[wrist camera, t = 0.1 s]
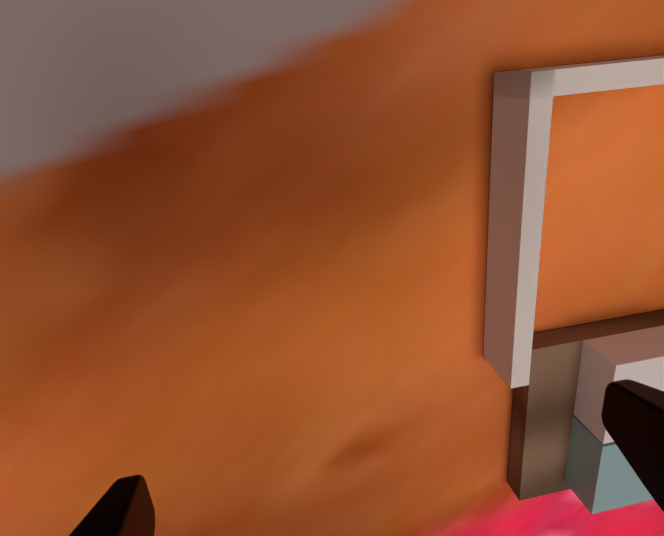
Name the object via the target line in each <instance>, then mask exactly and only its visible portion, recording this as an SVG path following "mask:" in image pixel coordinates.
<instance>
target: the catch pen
mask: <svg viewBox="0 0 664 536" xmlns="http://www.w3.org/2000/svg"><path fill="white" fill-rule="evenodd" d="M659 84H664V55H660V56H650V57H640V58H630V59H621V60H611V61H601V62H591V63H582V64H572V65H562V66H552V67H542V68H533V69H523V70H513V71H503V72H494V92H493V118H492V144H491V170H490V196H489V222H488V248H487V274H486V300H485V327H484V353H483V357H484V358H485V360H486V361H487V362H488V363H489V364H490V365H491V367H492V368H493V369H494V370H495V371H496V372H497V373H498V375H499V376H500V377H501V378H502V379H503V380H504V381H505V383H506V384H507V385H508V386H509V387H510V388H516V387H521V386H527V385H529V378H530V366H531V354H532V342H533V330H534V318H535V306H536V294H537V282H538V270H539V258H540V246H541V234H542V222H543V210H544V198H545V186H546V174H547V162H548V150H549V138H550V126H551V114H552V102H553V96H560V95H569V94H578V93H587V92H596V91H605V90H614V89H623V88H632V87H641V86H650V85H659Z"/></svg>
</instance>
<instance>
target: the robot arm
mask: <svg viewBox="0 0 664 536" xmlns="http://www.w3.org/2000/svg"><path fill="white" fill-rule="evenodd" d="M601 418H602V422H603V425H604V427H605V429H606V430H607V432H608V433H609V435H610V436H611V438H612V439H613V441H614V442H615V444H616V445H617V447H618V448H619V450H620V451H621V453H622V454H623V455H624V457H625V458H626V460H627V461H628V463H629V464H630V466H631V467H632V469H633V470H634V472H635V473H636V475H637V476H638V478H639V479H640V481H641V482H642V483H643V485H644V486H645V488H646V489H647V491H648V492H649V493H650V495H651V496H652V497H653V499H654V500H655V501H656V503H657V504H658V505H659V506H660V508H661V509H662V510H663V511H664V391H661V390H658V389H656V388H653V387H650V386H647V385H644V384H642V383H639V382H636V381H633V380H629V379H625V380H619V381H614V382H610V383H609V384H608V385H607V386H606V389H605V394H604V401H603V407H602V413H601ZM154 530H155V511H154V506H153V503H152V500H151V497H150V493H149V490H148V487H147V484H146V481H145V479H144V477H143V476H142V475H134V476H129V477H124V478H120V479H118V480H117V481H115V482H114V483H113V485H112V486H111V487H110V488H109V489H108V491H107V492H106V493H105V494H104V495H103V496H102V498H101V499H100V500H99V501H98V502H97V503H96V505H95V506H94V507H93V508H92V509H91V510H90V512H89V513H88V514H87V515H86V516H85V517H84V519H83V520H82V521H81V522H80V523H79V524H78V526H77V527H76V528H75V529H74V530H73V531H72V533H71V534H70V535H69V536H154Z"/></svg>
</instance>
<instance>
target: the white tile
mask: <svg viewBox="0 0 664 536" xmlns="http://www.w3.org/2000/svg"><path fill="white" fill-rule="evenodd" d="M625 379H629V380H633V381H636V382H639V383H642V384H644V385H647V386H650V387H653V388H656V389H658V390H661V391H664V325H663V326H658V327H653V328H647V329H642V330H636V331H631V332H626V333H620V334H615V335H609V336H604V337H599V338H593V339H588V340H583V345H582V353H581V360H580V368H579V376H578V383H577V391H576V399H575V406H574V415H575V416H576V417H577V418H578V419H579V420H580V421H581V422H582V423H583V424H584V425H585V426H586V427H587V428H588V429H589V430H590V431H591V432H592V433H593V434H594V435H595V436H596V437H597V438H598V439H599V440H600V441H601V442H602V443H603V444H606V443H611V442H614V441H613V439H612V438H611V436H610V435H609V433H608V432H607V430H606V429H605V427H604V425H603V422H602V418H601V413H602V407H603V401H604V394H605V389H606V386H607V385H608V384H609V383H610V382H614V381H619V380H625Z"/></svg>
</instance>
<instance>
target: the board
mask: <svg viewBox="0 0 664 536" xmlns="http://www.w3.org/2000/svg"><path fill="white" fill-rule="evenodd" d="M663 325H664V310H659V311H653V312H647V313H642V314H636V315H631V316H625V317H620V318H614V319H609V320H603V321H597V322H592V323H586V324H581V325H575V326H570V327H564V328H559V329H553V330H547V331H542V332H536V333H533V342H532V354H531V366H530V378H529V385H527V386H521V387H516V388H514V390H513V404H512V419H511V433H510V448H509V462H508V477H507V482H508V484H509V485H510V487H511V488H512V490H513V491H514V493H515V494H516V496H517V498H518V499H519V500H523V499H528V498H532V497H537V496H541V495H545V494H550V493H554V492H559V491H563V490H567V489H571V488H570V487H569V485H568V484H567V483H566V482H565V476H566V468H567V460H568V452H569V445H570V437H571V429H572V422H573V417H575V415H574V406H575V399H576V391H577V383H578V376H579V368H580V360H581V353H582V345H583V340H588V339H593V338H599V337H604V336H609V335H615V334H620V333H626V332H631V331H636V330H642V329H647V328H653V327H658V326H663Z"/></svg>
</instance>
